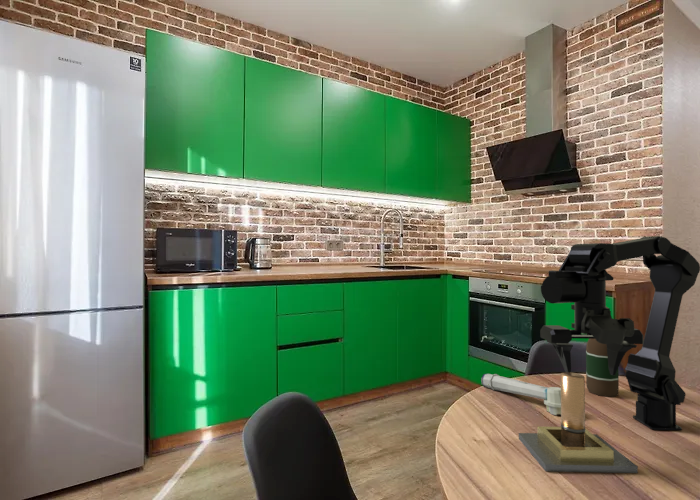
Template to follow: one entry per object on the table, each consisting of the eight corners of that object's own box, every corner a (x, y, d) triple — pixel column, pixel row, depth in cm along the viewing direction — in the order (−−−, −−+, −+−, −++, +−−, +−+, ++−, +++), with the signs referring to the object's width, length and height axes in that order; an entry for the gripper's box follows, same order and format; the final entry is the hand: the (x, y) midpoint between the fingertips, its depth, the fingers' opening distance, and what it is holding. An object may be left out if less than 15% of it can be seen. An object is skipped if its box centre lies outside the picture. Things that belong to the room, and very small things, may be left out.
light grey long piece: (491, 371, 114) (573, 384, 92) (493, 394, 113) (578, 413, 92) (478, 374, 111) (561, 388, 90) (481, 398, 111) (565, 418, 89)
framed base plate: (596, 440, 80) (596, 424, 80) (637, 473, 68) (637, 455, 68) (518, 438, 80) (518, 423, 80) (545, 471, 68) (545, 453, 68)
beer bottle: (590, 385, 112) (589, 304, 112) (622, 392, 107) (621, 306, 107) (582, 392, 107) (581, 306, 107) (614, 399, 101) (614, 309, 101)
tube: (572, 441, 76) (572, 371, 76) (590, 451, 72) (590, 377, 72) (556, 444, 75) (555, 373, 75) (573, 454, 71) (572, 380, 71)
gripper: (564, 306, 74) (565, 387, 74) (664, 307, 73) (664, 388, 73) (539, 299, 85) (539, 369, 85) (624, 300, 84) (625, 370, 84)
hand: (590, 374), depth 82 cm, fingers open, 9 cm apart
